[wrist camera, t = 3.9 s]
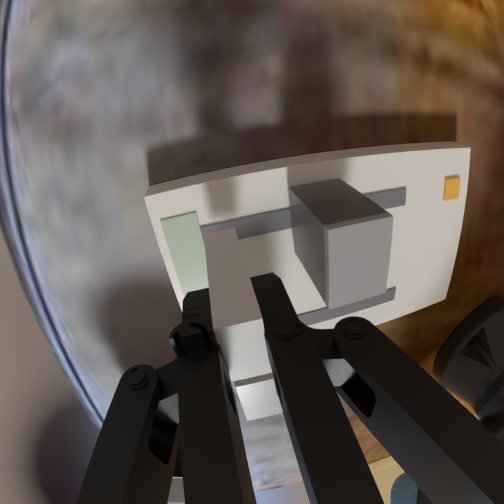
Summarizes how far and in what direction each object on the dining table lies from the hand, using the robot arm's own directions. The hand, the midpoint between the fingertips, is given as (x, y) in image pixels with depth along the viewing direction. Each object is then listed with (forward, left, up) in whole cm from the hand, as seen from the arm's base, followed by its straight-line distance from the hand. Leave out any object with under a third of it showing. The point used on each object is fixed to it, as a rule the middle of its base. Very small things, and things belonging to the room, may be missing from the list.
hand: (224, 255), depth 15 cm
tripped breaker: (-5, 0, -2) cm, 6 cm away
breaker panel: (-7, +4, -4) cm, 9 cm away
